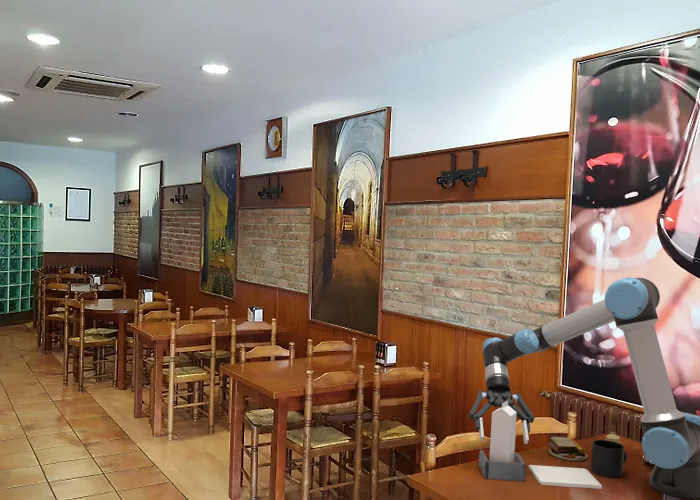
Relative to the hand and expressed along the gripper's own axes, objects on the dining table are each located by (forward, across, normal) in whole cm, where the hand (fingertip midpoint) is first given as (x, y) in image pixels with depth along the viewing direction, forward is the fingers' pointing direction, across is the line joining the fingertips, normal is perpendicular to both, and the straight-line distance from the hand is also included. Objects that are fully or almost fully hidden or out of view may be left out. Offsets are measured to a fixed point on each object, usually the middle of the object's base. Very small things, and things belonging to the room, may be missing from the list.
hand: (504, 440), depth 194 cm
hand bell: (-14, -45, -30) cm, 56 cm away
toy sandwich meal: (-9, -27, -25) cm, 37 cm away
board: (+7, -19, -8) cm, 22 cm away
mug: (+1, -36, -14) cm, 39 cm away
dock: (+6, 0, -9) cm, 11 cm away
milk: (+6, 0, -9) cm, 11 cm away
